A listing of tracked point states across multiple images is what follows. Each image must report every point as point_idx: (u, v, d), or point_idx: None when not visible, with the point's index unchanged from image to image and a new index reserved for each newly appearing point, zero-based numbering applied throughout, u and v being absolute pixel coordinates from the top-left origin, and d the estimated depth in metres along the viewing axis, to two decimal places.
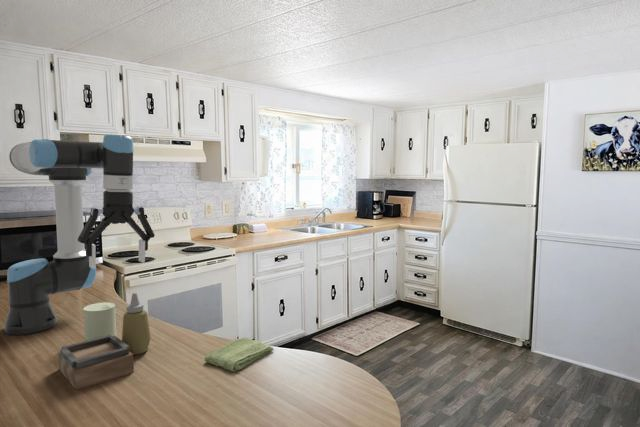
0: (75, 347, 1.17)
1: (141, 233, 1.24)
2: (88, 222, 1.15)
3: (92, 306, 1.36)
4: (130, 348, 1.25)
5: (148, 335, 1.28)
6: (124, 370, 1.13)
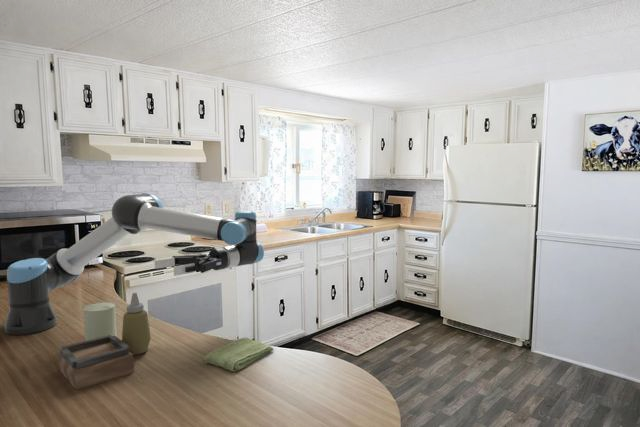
0: (75, 347, 1.17)
1: None
2: (213, 265, 1.36)
3: (92, 306, 1.36)
4: (130, 348, 1.25)
5: (148, 335, 1.28)
6: (124, 370, 1.13)
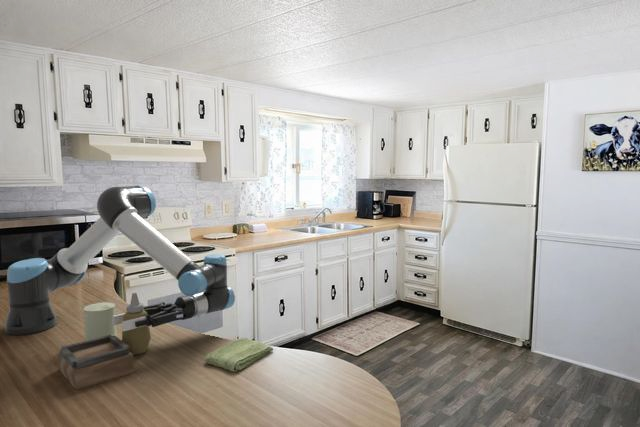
0: (75, 347, 1.17)
1: None
2: (170, 318, 1.29)
3: (92, 306, 1.36)
4: (130, 348, 1.25)
5: (148, 335, 1.28)
6: (124, 370, 1.13)
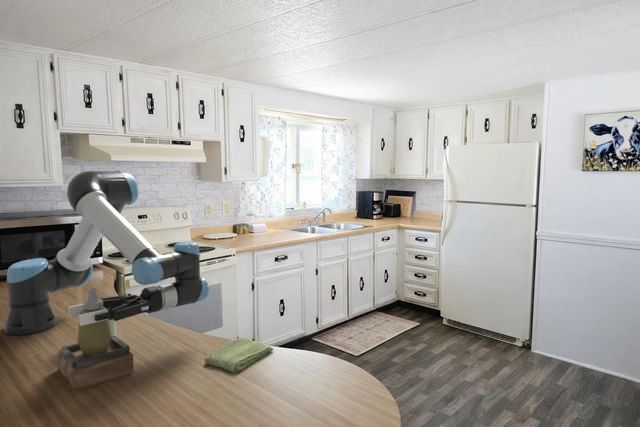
0: (75, 347, 1.17)
1: None
2: (134, 311, 1.15)
3: None
4: (86, 349, 1.12)
5: (108, 335, 1.15)
6: (124, 370, 1.13)
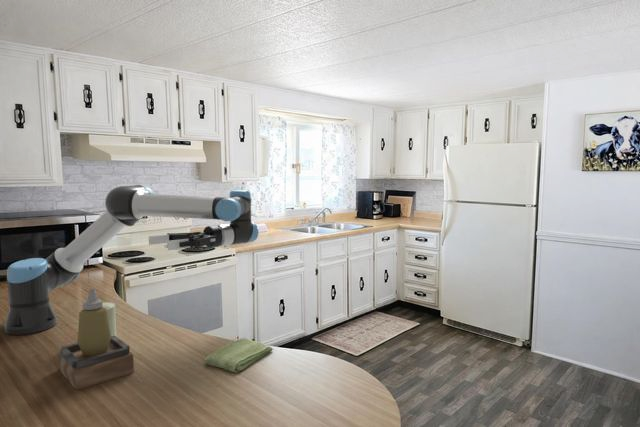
0: (75, 347, 1.17)
1: None
2: (207, 241, 1.37)
3: None
4: (86, 349, 1.12)
5: (107, 335, 1.15)
6: (124, 370, 1.13)
